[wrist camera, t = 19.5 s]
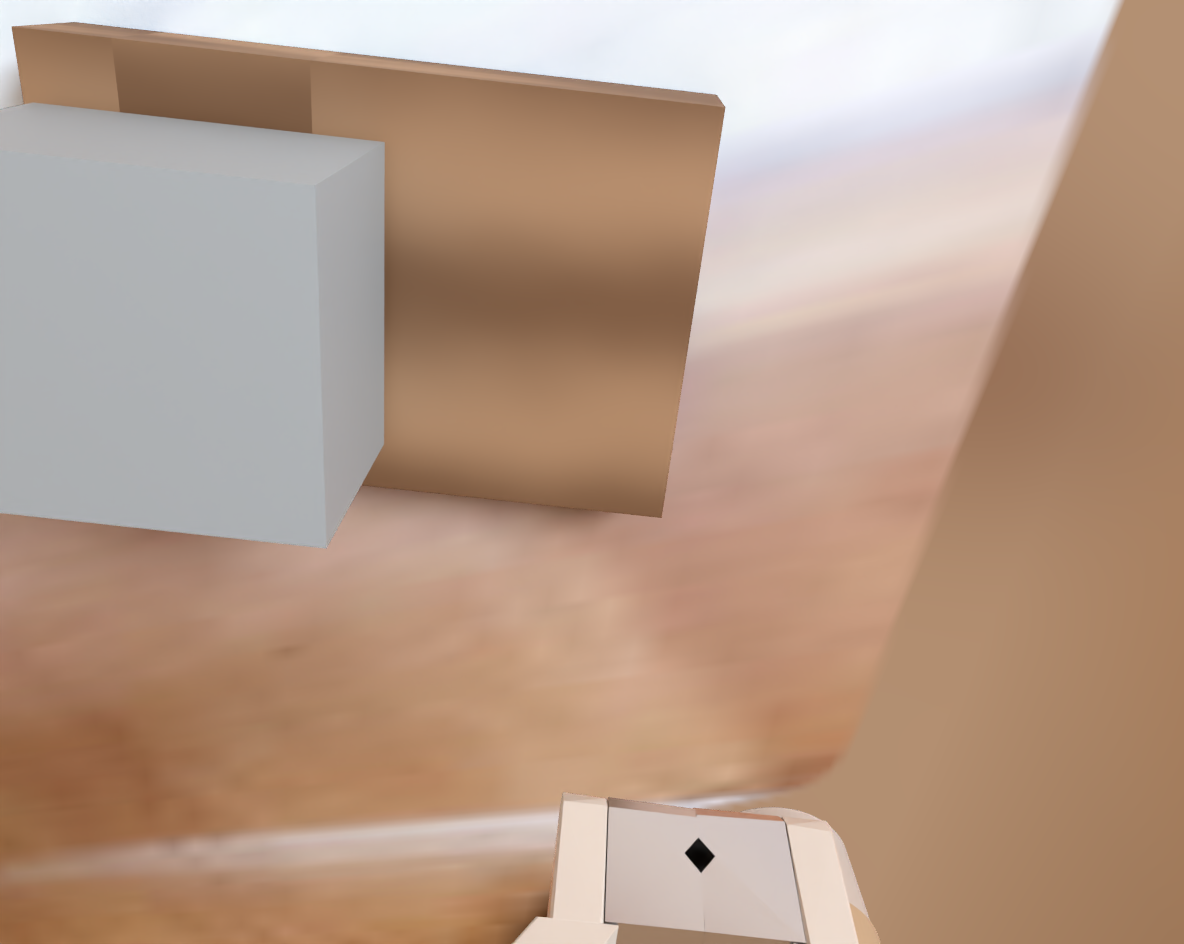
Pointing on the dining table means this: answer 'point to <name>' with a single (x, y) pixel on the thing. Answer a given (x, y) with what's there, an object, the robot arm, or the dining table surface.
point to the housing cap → (188, 323)
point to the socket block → (475, 244)
